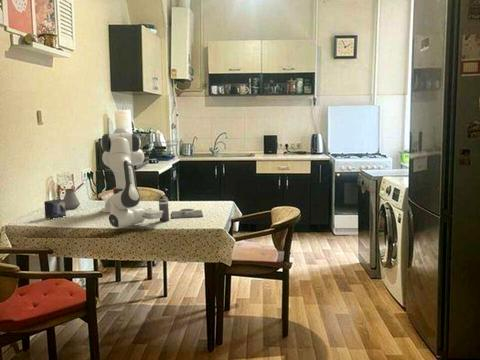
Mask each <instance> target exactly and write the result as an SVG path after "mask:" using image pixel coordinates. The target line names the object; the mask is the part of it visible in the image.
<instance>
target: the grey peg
mask: <svg viewBox="0 0 480 360" xmlns="http://www.w3.org/2000/svg"><path fill="white" fill-rule="evenodd" d="M169 209H170V208H169V199H167V198H162V199H161V198H160V199H158V211H159V210H163V214H162V217H161V218H159V222H161V223H164V222H170V213H169V211H170V210H169Z"/></svg>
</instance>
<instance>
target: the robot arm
mask: <svg viewBox="0 0 480 360" xmlns="http://www.w3.org/2000/svg"><path fill="white" fill-rule="evenodd" d="M100 146H101V149H102V151H103V153H102V155H101V156H102V157H101V158H102V159H101V160H102V162H103V164H104V165H105V166H106V167H108V168H109V169H110V170H111V172H112V173H113V175H114V179H115V185H116V186H115V187H113V190H112V193H113V194H111V196H110V197H108V198H107V199H106V200H105V203H104V207H103V208H101V210H100V211H101V212H102V213H109V215H108V221H109V223H110V225H111V226H112V227H114V228H117V229H118V228H119V229H121V228H125V227H129V226H131V225H137V224H142V223H144V221H145V219H147V220H157V219H158V220H159V219H160V218H161V217H162V214H163V210H159V209H152V208H149V207H148V208H145V207H144V208H143V207H141V206H138V205H139V203H140V201H141V195H140V192H139V188H138V186H137V184H138V183H137V178H136V177H137V175H136V171H135V166H138V165H142V164H143V163H144V161H145V153H144V152H143V149H141V147H142V141H141V137H140V135H138V134H137V133H135V132H134V133H133V132H132V133H130V131H129V129H128V128H126V127H123V126H120V127H117V128H115V129H114V131H113V133H105V134H103V135H102V137H101V140H100Z"/></svg>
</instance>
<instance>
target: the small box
mask: <svg viewBox="0 0 480 360" xmlns="http://www.w3.org/2000/svg"><path fill="white" fill-rule="evenodd" d="M43 202H44V219H45V218H50V219H49V220H51V219H52V220H54V219H53V218H57V219H59V218H58V217H61V218H64V217H63V216H66V217H67V211H66V210H67V209H66V208H65V200H63V199H61V198H56V199H51V200H46V201H43Z"/></svg>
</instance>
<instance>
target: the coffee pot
mask: <svg viewBox="0 0 480 360" xmlns="http://www.w3.org/2000/svg"><path fill="white" fill-rule="evenodd" d="M84 185H86V183H84V182H82V183H81V184H80V185H78V186H77V187H76V189H75V188H65V189H64V191H65V195H64V197H63V199H62V200H65V208H66V210H75V208H76V209H78V207H80V205H81V203H80V202H81V201H79V199H78V197H77V195H76V191H77V190H79V189H80V188H81V187H82V186H84Z"/></svg>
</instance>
